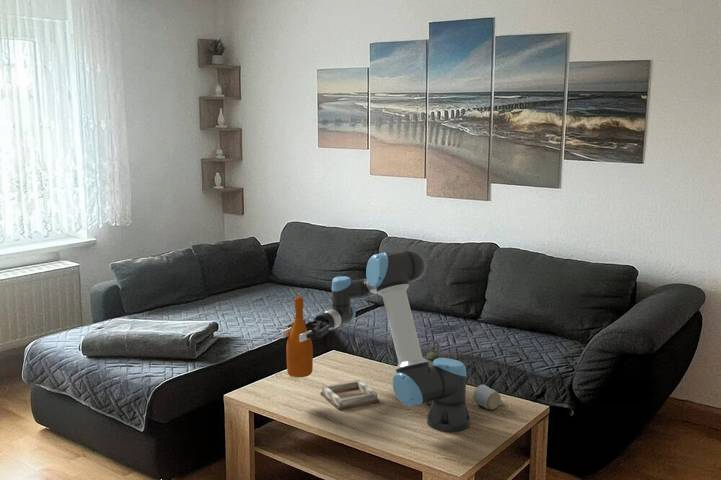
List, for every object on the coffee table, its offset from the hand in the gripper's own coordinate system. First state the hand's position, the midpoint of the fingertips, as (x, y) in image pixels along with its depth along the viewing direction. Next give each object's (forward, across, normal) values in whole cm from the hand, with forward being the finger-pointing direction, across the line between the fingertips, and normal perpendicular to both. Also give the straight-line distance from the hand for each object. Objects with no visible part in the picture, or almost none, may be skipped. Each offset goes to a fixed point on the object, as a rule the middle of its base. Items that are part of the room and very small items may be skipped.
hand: (291, 336), depth 280 cm
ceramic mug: (-42, -61, -28) cm, 79 cm away
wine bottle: (-5, 0, -16) cm, 17 cm away
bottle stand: (-19, -13, -28) cm, 36 cm away
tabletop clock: (-33, -42, -28) cm, 60 cm away
